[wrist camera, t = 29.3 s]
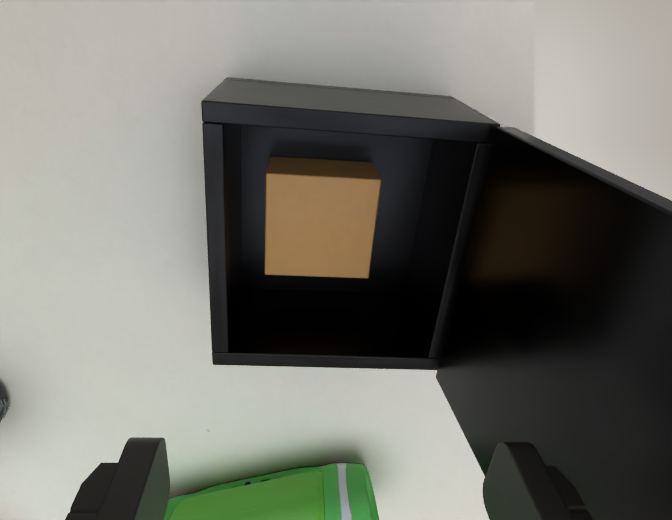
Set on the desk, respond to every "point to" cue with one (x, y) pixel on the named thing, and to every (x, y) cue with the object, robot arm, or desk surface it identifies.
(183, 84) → the desk surface
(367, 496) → the speaker
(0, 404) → the pill bottle
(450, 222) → the black hinged lid box
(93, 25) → the desk surface
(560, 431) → the box lid
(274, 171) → the tan square block
